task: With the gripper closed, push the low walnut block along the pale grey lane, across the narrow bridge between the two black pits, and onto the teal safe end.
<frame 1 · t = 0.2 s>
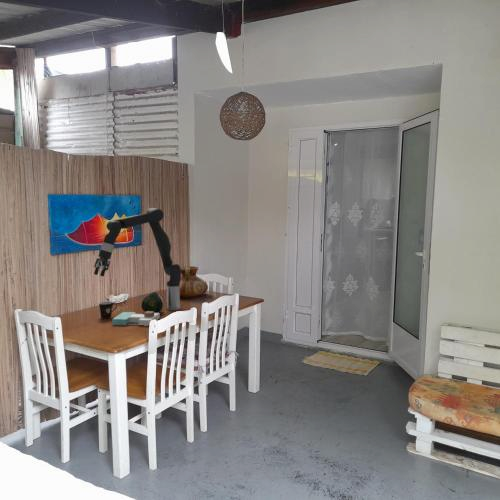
hand: (98, 275, 284), 31 cm above the table, tool tilted 20°, fingers open, 8 cm apart
squash: (152, 312, 317), on the table
walnut block: (149, 315, 292), point 4 cm above the table, touching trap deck
jug: (189, 296, 372), on the table
coffee mug: (108, 317, 303), on the table
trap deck: (136, 321, 293), on the table
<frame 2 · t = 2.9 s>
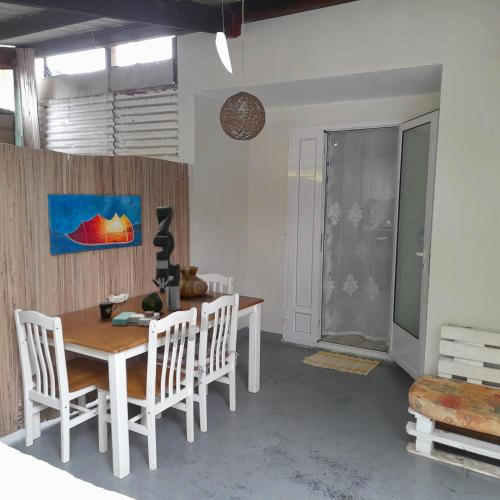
hand: (162, 293, 289), 19 cm above the table, tool pointing down, fingers closed
nothing on the table moved.
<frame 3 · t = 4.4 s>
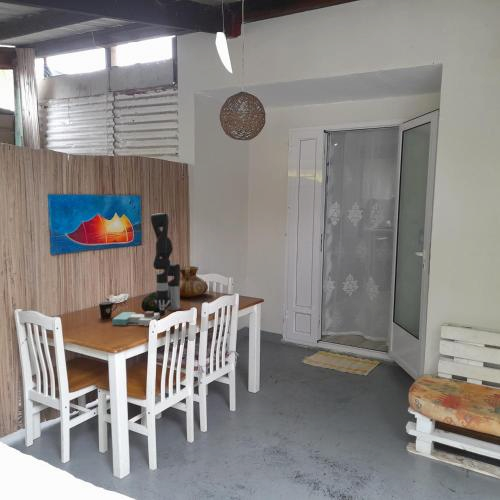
hand: (162, 315, 291), 5 cm above the table, tool pointing down, fingers closed
nothing on the table moved.
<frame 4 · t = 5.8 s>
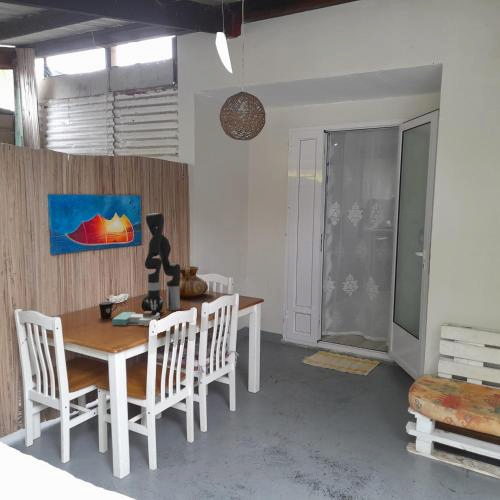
hand: (154, 315, 291), 5 cm above the table, tool pointing down, fingers closed
walnut block: (148, 315, 292), point 4 cm above the table, touching gripper
everything else where it was.
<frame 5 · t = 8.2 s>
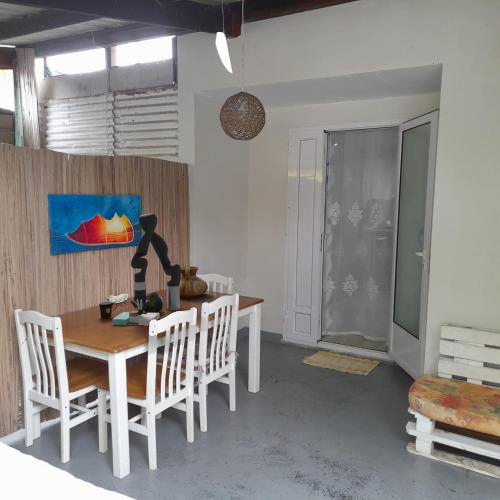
hand: (140, 314, 292), 5 cm above the table, tool pointing down, fingers closed
walnut block: (134, 315, 293), point 4 cm above the table, touching gripper
everything else where it was.
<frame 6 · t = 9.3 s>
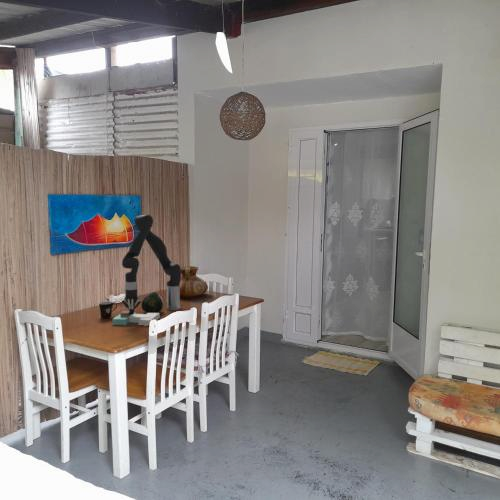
hand: (131, 314, 293), 5 cm above the table, tool pointing down, fingers closed
walnut block: (125, 315, 293), point 4 cm above the table, touching gripper
everything else where it was.
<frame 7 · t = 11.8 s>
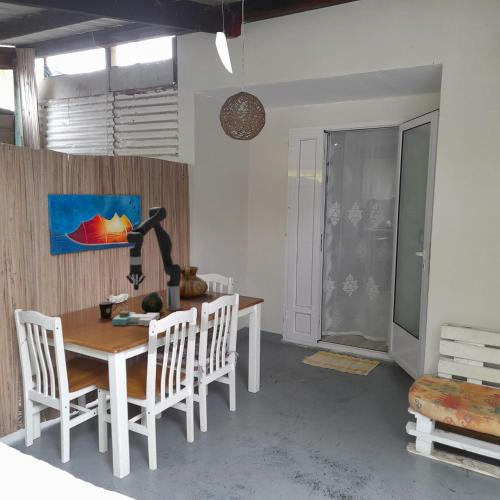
hand: (136, 290, 291), 21 cm above the table, tool pointing down, fingers closed
walnut block: (124, 315, 293), point 4 cm above the table, touching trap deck
everything else where it was.
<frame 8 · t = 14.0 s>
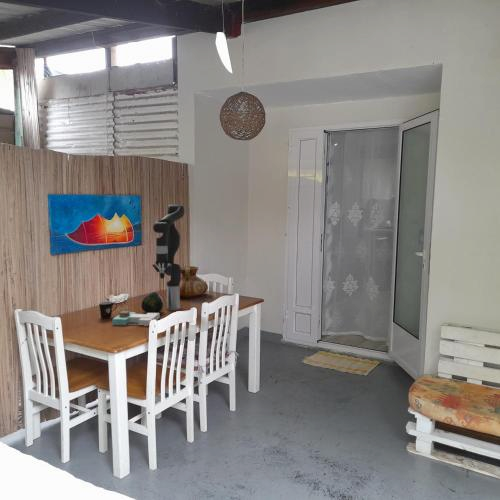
hand: (162, 278, 299), 27 cm above the table, tool pointing down, fingers closed
nothing on the table moved.
at the end: walnut block inside the target area (0.8 cm from its centre), point 3.7 cm above the table; walnut block tilted 0° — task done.
